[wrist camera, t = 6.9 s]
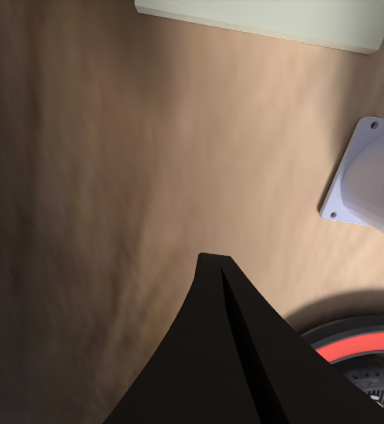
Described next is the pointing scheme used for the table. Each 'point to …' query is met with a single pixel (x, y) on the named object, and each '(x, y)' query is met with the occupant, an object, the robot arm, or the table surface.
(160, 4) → the board
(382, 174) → the robot arm
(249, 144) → the table surface
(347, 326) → the electronic game
